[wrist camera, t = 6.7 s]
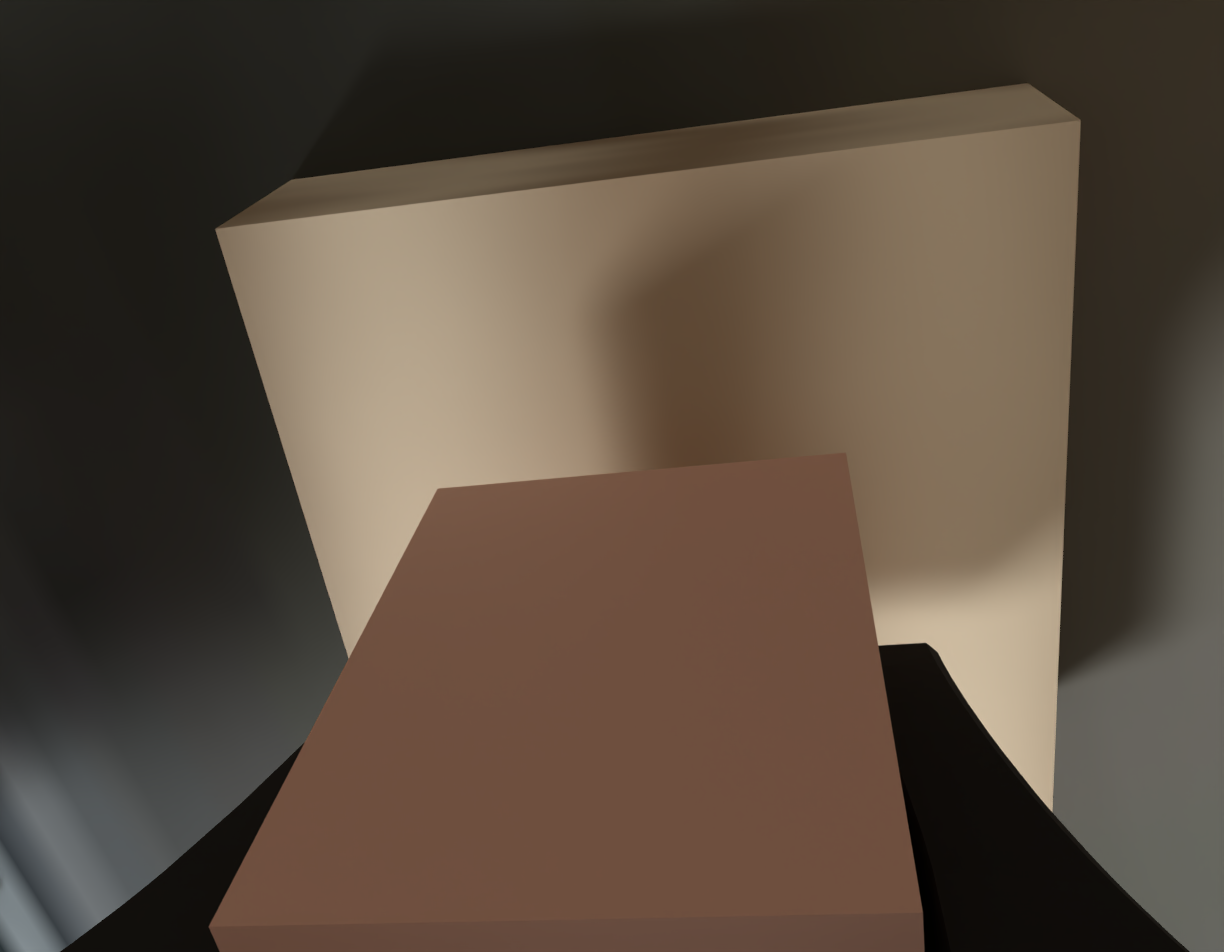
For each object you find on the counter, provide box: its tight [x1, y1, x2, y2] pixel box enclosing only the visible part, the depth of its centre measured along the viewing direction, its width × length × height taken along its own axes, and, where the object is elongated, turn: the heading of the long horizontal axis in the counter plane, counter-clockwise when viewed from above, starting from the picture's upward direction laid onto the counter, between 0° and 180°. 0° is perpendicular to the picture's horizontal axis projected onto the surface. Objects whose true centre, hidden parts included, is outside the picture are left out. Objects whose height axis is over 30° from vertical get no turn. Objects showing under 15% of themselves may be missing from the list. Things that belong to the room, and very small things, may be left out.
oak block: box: [215, 83, 1081, 811], centre depth 16 cm, size 10×10×3 cm
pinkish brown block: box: [209, 453, 925, 952], centre depth 10 cm, size 4×4×6 cm
